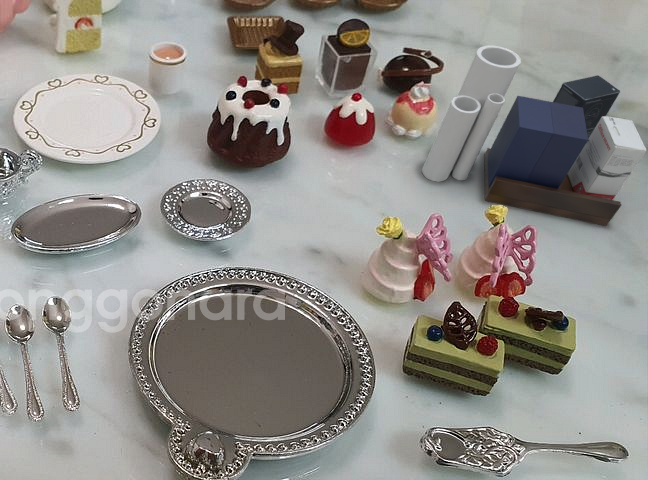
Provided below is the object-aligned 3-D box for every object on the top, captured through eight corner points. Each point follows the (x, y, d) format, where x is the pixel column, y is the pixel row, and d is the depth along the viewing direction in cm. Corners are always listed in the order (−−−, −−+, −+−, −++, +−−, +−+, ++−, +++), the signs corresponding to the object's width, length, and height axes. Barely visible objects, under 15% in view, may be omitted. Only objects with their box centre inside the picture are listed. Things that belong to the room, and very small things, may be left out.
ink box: (608, 209, 123) (649, 151, 114) (577, 205, 123) (615, 146, 114) (595, 175, 128) (634, 117, 120) (565, 172, 129) (601, 114, 120)
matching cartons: (548, 166, 130) (583, 107, 121) (551, 199, 124) (588, 140, 115) (487, 154, 132) (517, 95, 123) (488, 186, 126) (519, 126, 117)
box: (569, 124, 141) (598, 74, 133) (591, 141, 137) (622, 91, 129) (535, 131, 139) (562, 81, 131) (556, 149, 135) (585, 99, 127)
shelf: (598, 177, 131) (612, 156, 127) (606, 226, 122) (621, 205, 119) (484, 154, 134) (494, 133, 131) (484, 200, 126) (495, 179, 122)
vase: (438, 142, 136) (482, 40, 121) (478, 156, 134) (528, 55, 118) (418, 175, 130) (462, 72, 115) (459, 191, 127) (510, 88, 112)
